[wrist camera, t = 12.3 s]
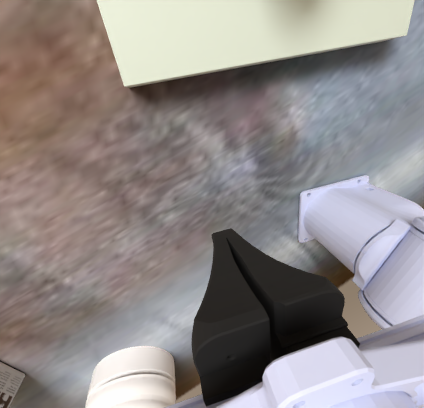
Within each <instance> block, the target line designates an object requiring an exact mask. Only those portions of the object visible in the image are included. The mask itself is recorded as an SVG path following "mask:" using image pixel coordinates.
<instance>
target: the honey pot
mask: <svg viewBox="0 0 424 408" xmlns="http://www.w3.org/2000/svg"><path fill="white" fill-rule="evenodd" d="M175 390H176V389H175V367H174V359H173V357H172V355H171V354H170V353H169V352H167V351H166V350H164V349H161V348H158V347H152V346H137V347H131V348H126V349H122V350H119V351H117V352H114V353H112V354H110V355H109V356H107V357H105V358H104V359H102V360H101V361H100V362H99V363H98V364H97V366H96V368H95V369H94V372H93V376H92V380H91V384H90V388H89V392H88V396H87V401H86V407H85V408H165V407H167V406H170V405H173V404H175V402H176V394H175Z"/></svg>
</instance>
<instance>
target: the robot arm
mask: <svg viewBox="0 0 424 408" xmlns="http://www.w3.org/2000/svg"><path fill="white" fill-rule="evenodd" d="M368 182H369V176H366V175H364V176H360V177H356V178H352V179H348V180H345V181H341V182H337V183H333V184H329V185H326V186H322V187H318V188H314V189H310V190H306V191H303V192H302V193H301V194H300V204H299V228H298V241H299V242H300V243H303V242H307V241H310V240H314V239H316V240H317V241H319V242H320V243H321V244H322V245H323V246H324V247H325V248H326V249H327V250H328V251H330V252H331V253H332V254H333V255H334V256H335V257H336V258H337V259H338V260H339V261H341V262H342V263H343V264H344V265H345V266H346V267H347V268H348V269H349V270H350V271H351V272H353V273H354V274H355V275H354V278H353V279H352V281H353V282H354V283H355V284H356V285H357V286H358V287H359V288H360V290H359V292H358V298H359V300H360V303H361V304H362V306H363V308H364V310H365V311H366V313H367V314H368V316H370V318H371V319H372V320H373V321H374V322H375V323H376V324H377V325H378V326H379V327H380V328H381V329H382V330H379V331H377V332H374V333H371V334H369V335H366V336H363V337H360V338H357V339H356V338H355V337H354V335H353V334H352V333H351V331H350V330H349V329H348V328H347V326H348V324H347V322H346V321H345V319H343V317H342V312H343V307H344V296H343V294H342V293H341V292H340V291H339V290H338V288H337V287H336V286H335V285H334V284H333V283H331V282H330V281H329V280H328V279H327V278H326V277H323V276H319V275H315V274H311V273H308V272H305V271H302V270H299V269H296V268H293V267H291V266H288V265H286V264H284V263H281V262H279V261H277V260H275V259H273V258H271V257H270V256H268V255H266V254H264V253H263V252H261V251H260V250H258V249H257V248H255V247H254V246H252V245H251V244H250V243H248V242H247V241H246V240H244V239H243V238H242V237H241V236H240V235H238V234H237V233H236V232H235V231H234V230H233V229H227V230H223V231H220V232H216V233H213V234H212V239H213V245H214V251H213V263H212V270H211V275H210V279H209V283H208V287H207V290H206V293H205V296H204V298H203V301H202V304H201V306H200V308H199V310H198V312H197V315H196V317H195V319H194V325H193V332H192V353H193V360H194V364H195V366H196V369H197V371H198V373H199V376H200V381H201V388H202V394H201V395H198V396H195V397H193V398H190V399H187V400H185V401H181V402H179V403H176V404H173V405H170V406H167V407H165V408H424V209H423V208H421V207H420V206H419V205H418V204H416V203H414V202H413V201H410V200H408V199H406V198H403V197H401V196H398V195H396V194H393V193H391V192H389V191H386V190H384V189H381V188H379V187H376V186H374V185H371V184H369V183H368ZM308 193H309V194H308ZM307 194H308V195H307Z"/></svg>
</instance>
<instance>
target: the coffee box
mask: <svg viewBox="0 0 424 408" xmlns="http://www.w3.org/2000/svg"><path fill="white" fill-rule="evenodd" d="M24 377H25V374H24V373H22V372H20V371H18V370H16V369H13V368H12V367H10V366H8V365H6V364H4V363H1V362H0V408H9V407H10V405H11V403H12V401H13V399H14V397H15V395H16V393H17V391H18V389H19V387H20V385H21V383H22V381H23V379H24Z"/></svg>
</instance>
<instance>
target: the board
mask: <svg viewBox="0 0 424 408" xmlns="http://www.w3.org/2000/svg"><path fill="white" fill-rule="evenodd" d="M97 3H98V6H99V9H100V12H101V15H102V18H103V21H104V25H105V28H106V31H107V34H108V37H109V40H110V43H111V46H112V49H113V52H114V55H115V59H116V62H117V65H118V68H119V71H120V74H121V77H122V80H123V83H124V86H125V87H128V88H131V87H136V86H142V85H147V84H153V83H158V82H164V81H169V80H175V79H180V78H186V77H191V76H196V75H202V74H207V73H213V72H218V71H224V70H229V69H235V68H240V67H246V66H251V65H257V64H262V63H268V62H273V61H279V60H284V59H290V58H295V57H301V56H306V55H311V54H317V53H322V52H328V51H333V50H339V49H344V48H350V47H355V46H361V45H366V44H372V43H377V42H382V41H386V40H390V39H394V38H398V37H402V36H405V35H407V31H408V27H409V23H410V18H411V14H412V9H413V5H414V0H97Z"/></svg>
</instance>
